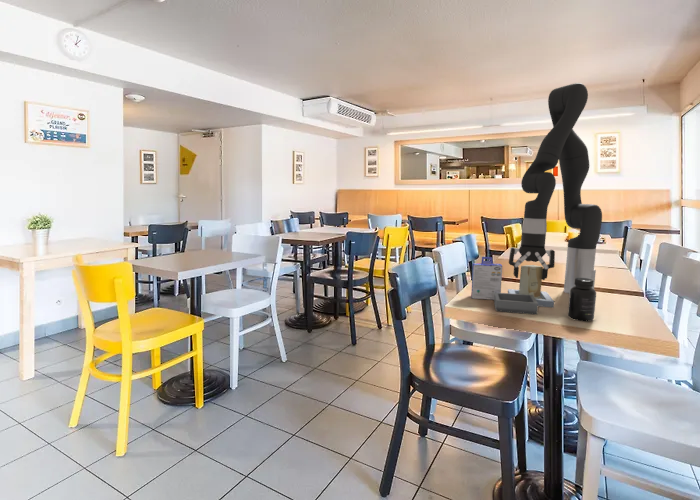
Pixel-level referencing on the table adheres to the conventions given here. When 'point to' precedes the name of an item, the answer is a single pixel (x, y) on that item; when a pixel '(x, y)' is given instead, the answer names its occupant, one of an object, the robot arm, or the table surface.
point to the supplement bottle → (582, 300)
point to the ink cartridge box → (486, 279)
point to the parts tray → (515, 303)
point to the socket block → (544, 301)
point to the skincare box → (531, 280)
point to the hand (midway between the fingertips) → (529, 278)
